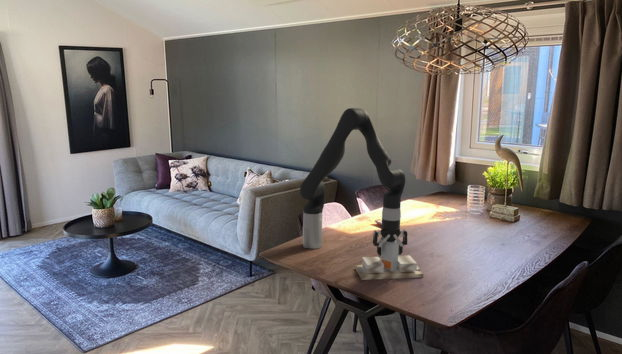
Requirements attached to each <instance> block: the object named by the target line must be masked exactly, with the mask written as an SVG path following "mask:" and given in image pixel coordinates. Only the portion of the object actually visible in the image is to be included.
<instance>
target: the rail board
mask: <svg viewBox="0 0 622 354" xmlns="http://www.w3.org/2000/svg"><path fill="white" fill-rule="evenodd" d="M361 259H362V261H361V264H356V265H355V270H356V272H357V273H358V275H359V278H360V280H362V281H365V280H369V281H370V280H387V279H388V280H389V279H391V280H392V279H410V278H424V272H423V271H421V268H420V266H419V265H418V263H417V261H416V260H414V258H413V257H412V256H411V255H398V268H397V269H395V270H393V271H390V270H388V269H386V268H384V264H383V262H382V261H381V257H379V256H362V257H361Z"/></svg>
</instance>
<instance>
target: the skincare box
mask: <svg viewBox="0 0 622 354" xmlns="http://www.w3.org/2000/svg"><path fill="white" fill-rule="evenodd" d="M398 250H399V243H398V242H397V241H396V240H395V241H389V242H387V241H386V242H385V243H384V244H383V245H382V246H381V256H380V260H381V261H382V262H383V264H384V268H386V269H388V270H390V271H393V270H395V269H397V268H398V256H399V254H398Z"/></svg>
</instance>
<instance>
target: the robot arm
mask: <svg viewBox="0 0 622 354" xmlns="http://www.w3.org/2000/svg"><path fill="white" fill-rule="evenodd" d="M354 130H355V131H359V132H360V133H361V135H362V136H363V137H364V140H365V142H366V143H365V144H366V145H365V146H366V151H367V154H368V156H369V158H370V160H371V162H372V163H373V164H374V166H375V168H376V169H375V170H376V172H377V175H378V179H379V182H380V184H381V185H382V186H383V187H385V188H387V189H388V191H387V192H385V193H384V194H383V198H382V201H383V202H382V203H383V204H382V212H381V229H380V230H379V231H378V230H374V231H373V235H372V245H374V246H375V247H376V253H377V255H378V257H379V256H380V257H381V251H382V245H383V244H384V243H385V242H386V241H387V242H389V241H397V242H398V243H399V250H398V256H402V253H403V250H404V249H403V248H404V246H407V245H408V231H407V230H406V229H402V230H400V229H401V218H402V216H401V215H402V214H401V212H402V211H401V201H402V200H401V199H402V195H403V193H404V189H405V184H406V175H405V172H404V171H403V170H402V169H399V168H395V169H391V168H390V165H392V159H391V157H390V155H389V154H388V152H387V150H386V149H385V147H384V146H383V144H382V142H381V140H380V139H379V136H378V134H377V131H376V129H375V127H374V125H373V122H372V120H371V118H370V115H369V113H368V112H367V110H365V109H364V108H358V107H355V108H354V107H350V108H347V109H345V110H344V111H343V112H342V115H341V116H340V118H339V121H338V123H337V125H336V127H335V129H334V131H333V133H332V135H331V136H330V139H329V141H328V142H327V143H326V145H325V147H324V148H323V150H322V151H321V153H320V156H319V158H318V159H317V160H316V162H315V164H314V166H313V168H312V169H311V171H310V172H309V173H308V175H307V176H306V177H305V178H304V180H303V181H302V182H301V185H300V187H299V188H300V189H299V193H300V196H301V198H303V200H308V201H307V203H305V205H303V210H302V211H303V213H302V214H303V218H302V220H303V222H302V223H303V224H302V246H303V248H304V249H311V250H312V249H313V250H315V249H320V248H322V246H323V209H324V206H325V199H326V196H325V195H326V186H325V183H324V181H323V180H325V178H326V177H328V176H329V175H330V174H331V173H333V171H334V170H335V169H336V168H337V167H338V166H339V164H340V163H341V161H342V160H343V158H344V156H345V152H346V151H345V150H346V141H347V138H348V137H349V135H350V134H351V133H352V132H353V131H354ZM400 235H401V236H402V241H401V240H400V238H399V236H400ZM380 236H381V237H380ZM379 237H380V238H379ZM378 238H379V240H378Z"/></svg>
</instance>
